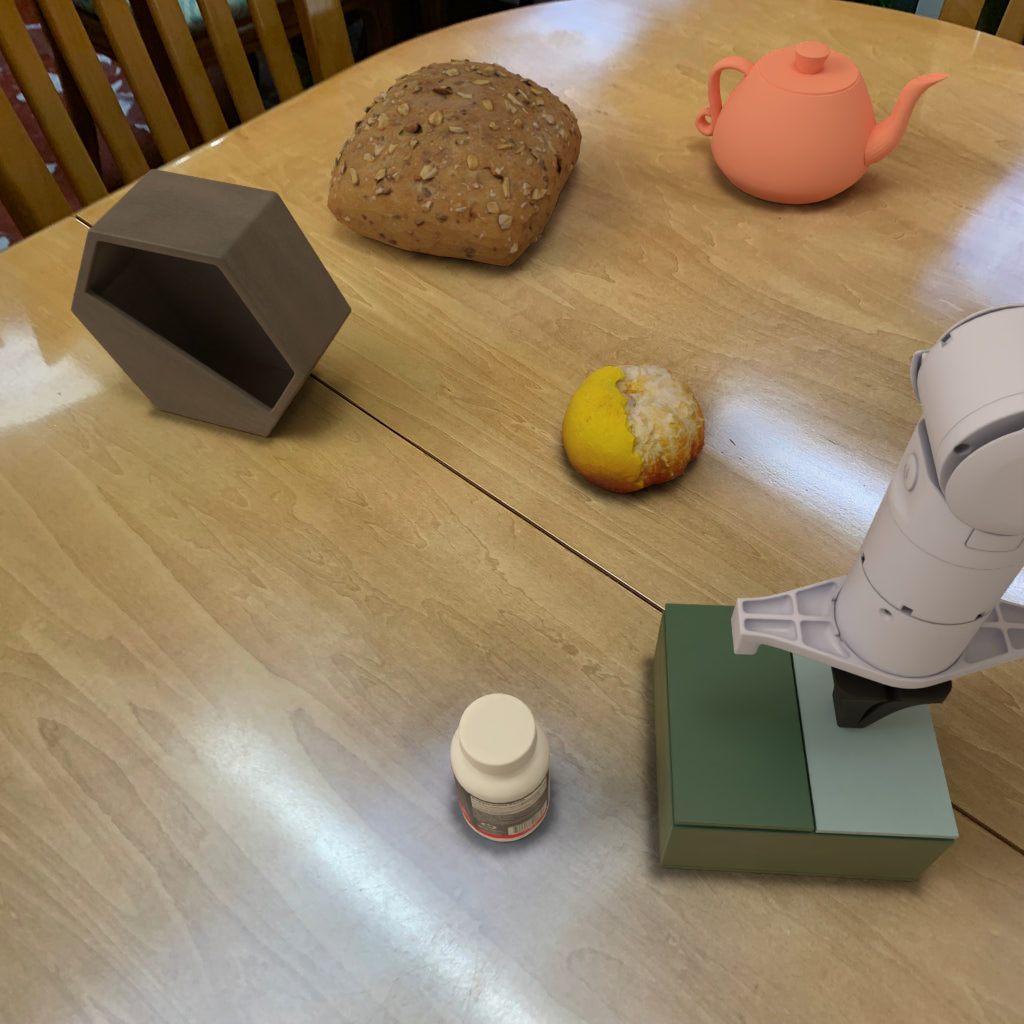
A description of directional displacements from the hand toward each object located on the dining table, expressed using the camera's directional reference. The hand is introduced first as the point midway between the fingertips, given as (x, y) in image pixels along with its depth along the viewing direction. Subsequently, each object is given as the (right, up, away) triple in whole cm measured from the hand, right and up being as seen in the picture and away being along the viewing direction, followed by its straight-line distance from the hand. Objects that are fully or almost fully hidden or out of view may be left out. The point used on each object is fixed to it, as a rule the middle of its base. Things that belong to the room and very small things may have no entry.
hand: (847, 710), depth 50 cm
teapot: (+11, +45, +44) cm, 64 cm away
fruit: (-9, +15, +22) cm, 28 cm away
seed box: (-2, -4, +6) cm, 8 cm away
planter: (-40, +20, +27) cm, 53 cm away
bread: (-23, +42, +43) cm, 64 cm away
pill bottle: (-18, -6, +5) cm, 20 cm away
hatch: (+1, 0, 0) cm, 1 cm away
